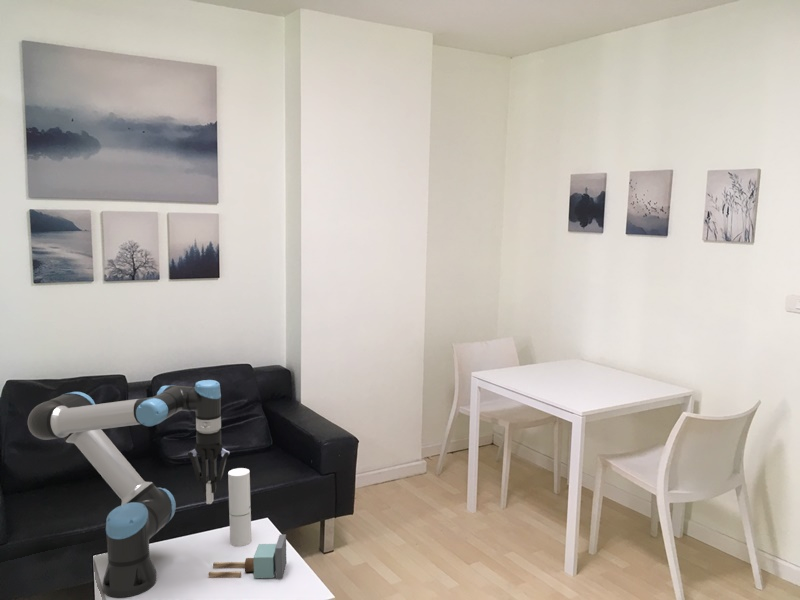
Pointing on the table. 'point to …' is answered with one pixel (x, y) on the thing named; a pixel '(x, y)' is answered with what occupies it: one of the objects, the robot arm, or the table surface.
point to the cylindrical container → (239, 506)
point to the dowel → (249, 565)
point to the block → (264, 561)
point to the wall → (280, 556)
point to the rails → (227, 565)
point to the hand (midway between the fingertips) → (209, 502)
